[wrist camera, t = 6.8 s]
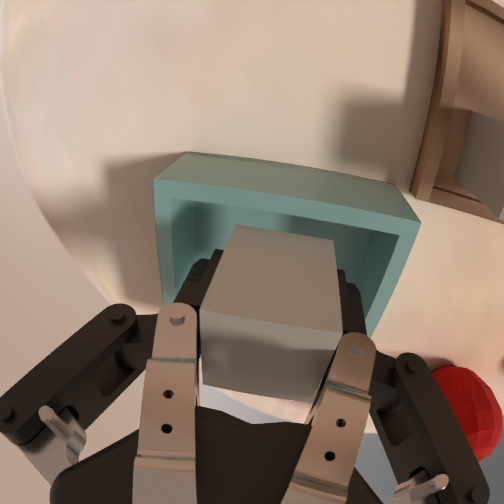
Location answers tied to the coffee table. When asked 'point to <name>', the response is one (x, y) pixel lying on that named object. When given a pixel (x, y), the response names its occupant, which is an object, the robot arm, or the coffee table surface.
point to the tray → (461, 99)
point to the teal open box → (282, 218)
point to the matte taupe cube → (271, 314)
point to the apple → (472, 407)
